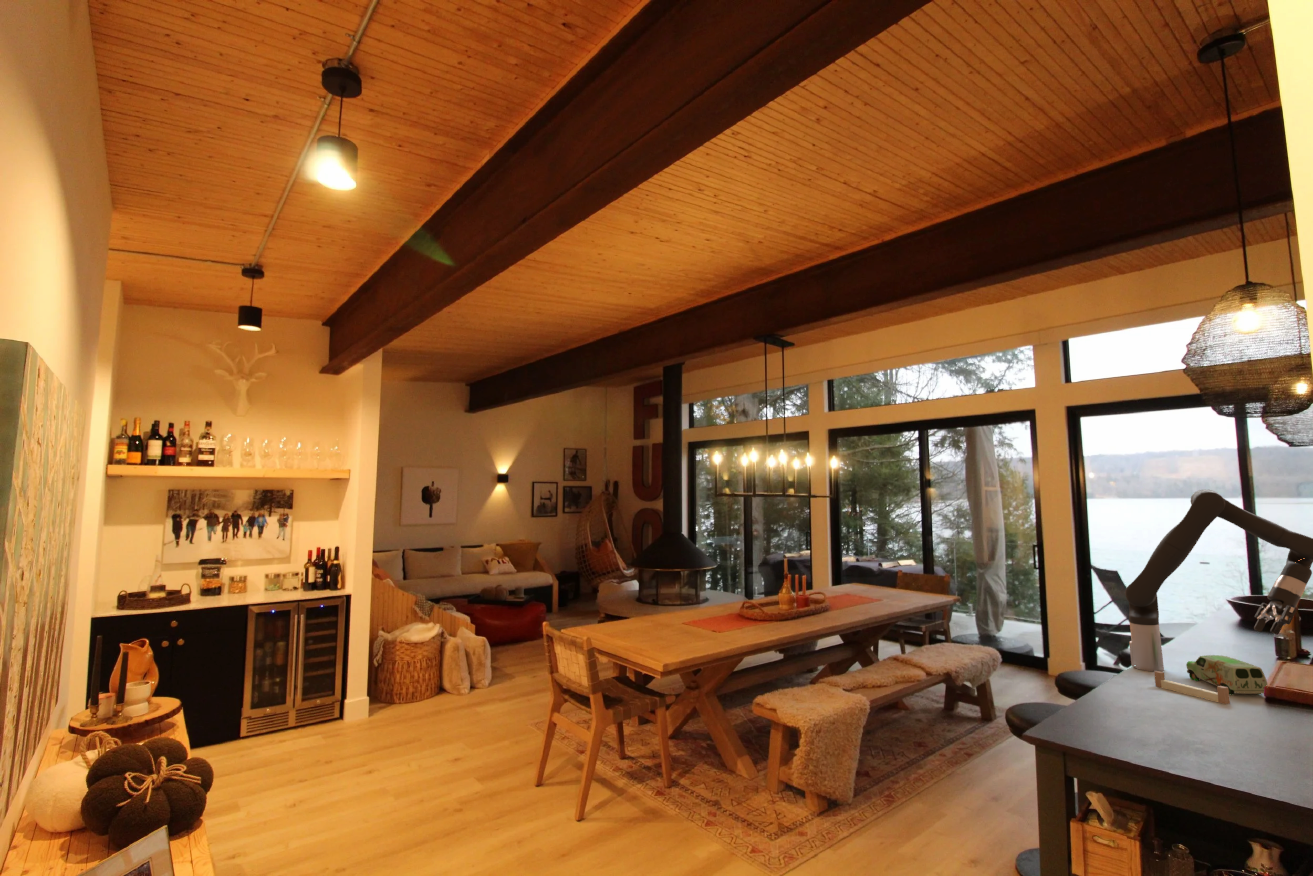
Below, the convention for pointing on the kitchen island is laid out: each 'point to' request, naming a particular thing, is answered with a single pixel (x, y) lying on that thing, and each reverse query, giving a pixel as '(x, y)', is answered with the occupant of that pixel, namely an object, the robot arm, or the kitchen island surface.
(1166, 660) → the kitchen island surface
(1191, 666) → the toy car
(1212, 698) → the rail
